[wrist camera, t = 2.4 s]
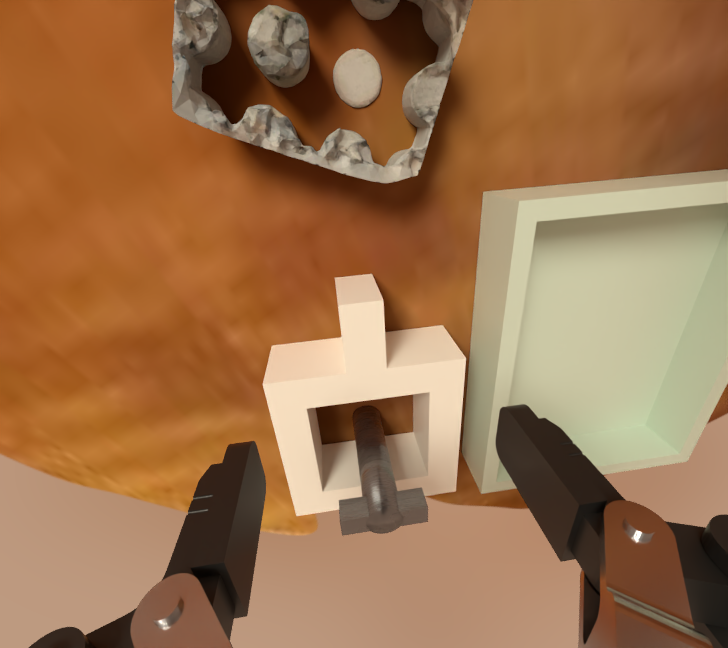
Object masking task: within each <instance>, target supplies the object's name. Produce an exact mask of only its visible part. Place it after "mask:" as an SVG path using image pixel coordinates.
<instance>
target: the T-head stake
mask: <svg viewBox="0 0 728 648" xmlns="http://www.w3.org/2000/svg"><path fill="white" fill-rule="evenodd" d="M352 418H353V426H354V434H355V442H356V450H357V458H358V466H359V474H360V482H361V489H362V497H356V498H349V499H343V500H339V514H340V525H341V531H342V535H349V534H355V533H361V532H367V531H372V532H374V533H388V532H392V531H394V530H396V529H397V528H399V527H400V526H404V525H410V524H416V523H423V522H428V506H427V503H426V499H425V496H424V493H423V490H422V487H421V488H414V489H408V490H401V491H397V487H396V483H395V478H394V474H393V470H392V465H391V461H390V457H389V452H388V448H387V444H386V439H385V435H384V431H383V426H382V422H381V418H380V413H379V411H378V410H377V409H376V408H375V407H373V406H362V407H360V408H358V409H357V410H356V411H355V412H354V413H353V417H352Z"/></svg>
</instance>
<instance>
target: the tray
mask: <svg viewBox="0 0 728 648" xmlns="http://www.w3.org/2000/svg"><path fill="white" fill-rule="evenodd" d="M727 383H728V169H724V170H714V171H703V172H692V173H681V174H670V175H660V176H649V177H638V178H627V179H616V180H606V181H595V182H584V183H573V184H562V185H552V186H541V187H530V188H519V189H508V190H497V191H487V192H483V201H482V213H481V225H480V237H479V249H478V261H477V273H476V285H475V297H474V310H473V322H472V334H471V346H470V358H469V370H468V382H467V394H466V406H465V418H464V430H463V442H462V454H463V456H464V459H465V461H466V463H467V465H468V467H469V469H470V471H471V473H472V476H473V478H474V480H475V482H476V484H477V486H478V488H479V490H480V492H481V494H484V493H490V492H497V491H503V490H509V489H516V486H515V484H514V483H513V481H512V479H511V478H510V476H509V474H508V473H507V471H506V469H505V468H504V466H503V464H502V463H501V461H500V459H499V457H498V454H497V450H496V444H495V440H496V433H497V426H498V419H499V412H500V409H501V408H502V407H506V406H513V405H520V404H526V405H527V406H529V407H530V409H531V410H532V411H533V412H534V413H535V415H536V416H537V417H538V418H546V419H548V420H549V421H551V422H552V423H554V424H555V425H557V426H558V427H560V428H561V429H562V430H563V431H564V432H565V433H566V434H567V435H568V437H569V438H570V439H571V440H572V441H573V444H576V446H577V447H578V448H579V449H580V450H581V451H582V454H583V455H585V456H586V457H587V458H588V459H589V460H590V461H591V462H592V464H593V465H594V466H595V467H596V468H597V469H598V470H599V471H600V472H601V474H602V475H604V474H611V473H617V472H623V471H630V470H636V469H642V468H649V467H655V466H661V465H668V464H674V463H681V462H687V461H688V459H689V457H690V455H691V453H692V451H693V449H694V447H695V445H696V443H697V442H698V440H699V438H700V436H701V434H702V432H703V430H704V428H705V426H706V424H707V422H708V420H709V418H710V416H711V414H712V412H713V410H714V408H715V407H716V405H717V403H718V401H719V399H720V397H721V395H722V393H723V391H724V389H725V387H726V385H727Z"/></svg>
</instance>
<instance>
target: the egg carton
mask: <svg viewBox="0 0 728 648" xmlns="http://www.w3.org/2000/svg"><path fill="white" fill-rule="evenodd" d="M399 1H400V0H351V2H352V4H353V6H354V7H355V9H356V10H357V11H358V13H359V14H360V15H361V16H363V17H365V18H366V19H369V20H381V19H383V18H385V17H388V16H389V15H390V14H391V13H392V11H393V10H394V9H395V8H396V7H397V5H398V3H399ZM407 1H411V2H413V3H415V4H417V5H418V6H419V7H420V8H421V9H422V21H423V25H424V28H425V31H426V33H427V34H428V36H429V37H430V38H431V39H432V40H433V41H434V42H435V43H436V44H437V45H438V47H439V50H438V54H437V57H436V61H435V63H433V64H431V65H429V66H427V67H425V68H424V69H423V70H421V71H420V72H418V73H417V74H416V75H414V76H413V77H412V78H411V79H410V80H409V81H408V83H407V84H406V86H405V89H404V92H403V98H402V105H403V111H404V114H405V116H406V118H407V119H408V120H409V121H410V122H411V124H413V125H414V126H416V127H417V134H416V136H415V139H414V142H413V145H412V147H411V148H410V149H406V150H401V151H399V152H396V153H395V154H393V155H392V157H391V158H390V159H389V160H388V162H387V165H386V166H381V165H378V164H376V163H374V162H373V160H372V156H371V152H370V148H369V146H368V144H367V142H366V140H365V139H364V138H363V137H361V136H360V135H359V134H358V133H356V132H354V131H350V130H341V129H340V128H339V129H337V130H336V131H334V132H333V133H331V134H330V135H329V136H328V137H327V138H326V140H325V142H324V143H323V145H322V147H321V149H320V150H319V151H317V152H316V151H315V150H314V148H313V147H312V146H303V145H302V143H301V141H300V140H299V139H298V136H297V133H296V130H295V128H294V126H293V125H292V122H291V121H290V120H289V118H288V117H286V116H284V115H283V114H281V113H280V112H279V111H277V110H276V109H275V108H273V107H272V106H270V105H255V106H251V107H248V109H247V110H246V112H245V114H244V116H243V118H242V120H241V121H239V122H238V123H237V124H231V123H230V122H229V120H228V119H227V118H226V116H225V115H224V113H223V111H222V109H221V107H220V106H219V104H218V103H217V102H216V101H215V100H214V99H212V98H211V97H210V96H209V95H207V94H205V93H204V92H202V89H201V84H202V70H203V67H205V65H210V64H215V63H218V62H219V61H221V60H222V59H223V58H224V57H225V56H226V55H227V54H228V52H229V49H230V47H231V41H232V36H231V30H230V26H229V23H228V21H227V19H226V17H225V15H224V13H223V12H222V11H221V9H220V8H219V6H218V5H217V4H216V2H215V1H214V0H175V4H174V32H173V42H172V48H173V58H174V74H173V80H172V104H173V111H174V112H175V113H176V114H177V115H178V116H180V117H183V118H185V119H187V120H189V121H192V122H194V123H196V124H198V125H200V126H203V127H205V128H208V129H210V130H213V131H216V132H218V133H221V134H224V135H227V136H229V137H232V138H235V139H238V140H241V141H244V142H247V143H250V144H253V145H256V146H259V147H262V148H265V149H269V150H273V151H276V152H278V153H281V154H284V155H286V156H289V157H292V158H296V159H299V160H303V161H306V162H309V163H312V164H315V165H318V166H321V167H325V168H328V169H331V170H334V171H337V172H339V173H342V174H345V175H349V176H353V177H357V178H361V179H364V180H368V181H373V182H379V183H392V182H396V181H400V180H403V179H406V178H409V177H413V176H417V175H418V173H419V171H420V168H421V165H422V162H423V159H424V156H425V153H426V149H427V145H428V142H429V139H430V136H431V133H432V129H433V126H434V123H435V120H436V117H437V114H438V111H439V107H440V102H441V100H442V97H443V93H444V90H445V87H446V84H447V81H448V77H449V74H450V71H451V67H452V64H453V61H454V58H455V55H456V53H457V50H458V47H459V45H460V41H461V38H462V35H463V31H464V28H465V25H466V21H467V18H468V15H469V12H470V9H471V6H472V3H473V0H407ZM248 47H249V50H250V53H251V56H252V57H253V59H254V63H255V64H256V66H257V67H258V68H259V69H260V70H261V72H262V73H263V74H264V75H265V77H266V78H267V79H268V80H269V81H270V82H272V83H273V84H275V85H277V86H279V87H283V88H287V87H293V86H295V85H296V84H298V83H299V82H301V81H302V80H303V79H304V78H305V77H306V75H307V73H308V70H309V63H310V51H309V34H308V27H307V23H306V20H305V19H304V17H303V16H302V15H300V14H299V13H296V12H289V11H287V10H285V9H283V8H281V7H279V6H274V5H268V6H267V7H265V8H264V9H263V10H261V11H260V12H259V13H257V14H256V16H255V17H254V18H253V20H252V23H251V26H250V28H249V31H248ZM333 82H334V86H335V89H336V92H337V93H338V95H339V97H340V98H341V99H342V100H343V101H344V102H345V103H346V104H348V105H350V106H352V107H356V108H360V107H365V106H367V105H368V104H370V103H371V102H373V101H374V100H375V99H376V98H377V96H378V94H379V92H380V89H381V84H382V76H381V71H380V67H379V64H378V63H377V61H376V60H375V58H374V56H373V55H371V54H370V53H368V52H367V51H365V50H359V49H358V48H357V49H356V50H355V49H351V50H349V51H347V52H345V53H344V54H343V55H342V56H340V58H339V59H338V61H337V62H336V64H335V67H334V70H333ZM299 146H300V147H303V148H300V147H299Z"/></svg>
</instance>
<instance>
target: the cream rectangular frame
mask: <svg viewBox="0 0 728 648" xmlns="http://www.w3.org/2000/svg"><path fill="white" fill-rule="evenodd" d="M335 284H336V293H337V301H338V310H339V318H340V327H341V336H342V337H340V338H332V339H324V340H316V341H307V342H299V343H291V344H282V345H274V346H272V347H271V352H270V356H269V360H268V364H267V369H266V373H265V377H264V381H263V387H264V391H265V395H266V399H267V403H268V407H269V411H270V415H271V418H272V422H273V426H274V430H275V434H276V438H277V442H278V446H279V450H280V454H281V457H282V461H283V465H284V469H285V473H286V477H287V481H288V485H289V489H290V492H291V496H292V500H293V504H294V508H295V512H296V516H301V515H307V514H314V513H319V512H327V511H332V510H339V500H343V499H349V498H356V497H362V489H361V482H360V474H359V466H358V458H357V450H356V442H355V440H354V441H347V442H340V443H333V444H326V445H322V442H321V436H320V431H319V425H318V419H317V414H316V408H315V407H323V406H330V405H338V404H345V403H353V402H360V401H367V400H375V399H382V398H390V397H397V396H405V395H412V394H413V432H410V433H403V434H396V435H389V436H385V439H386V444H387V448H388V452H389V457H390V461H391V465H392V470H393V474H394V478H395V483H396V487H397V491H401V490H408V489H414V488H421V487H422V490H423V493H424V496H429V495H435V494H442V493H448V492H455V491H456V482H457V469H458V456H459V443H460V430H461V417H462V404H463V391H464V379H465V366H466V358H465V356H464V355H463V353H462V352H461V350H460V349H459V348H458V346H457V345H456V343H455V342H454V341H453V339H452V338H451V336H450V335H449V333H448V332H447V331H446V329H445V328H444V326H443V325H440V326H432V327H424V328H415V329H407V330H399V331H390V332H385V322H384V302H383V298H382V296H381V293H380V291H379V289H378V286H377V284H376V282H375V279H374V277H373V275H372V274H366V275H357V276H347V277H338V278H335Z"/></svg>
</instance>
